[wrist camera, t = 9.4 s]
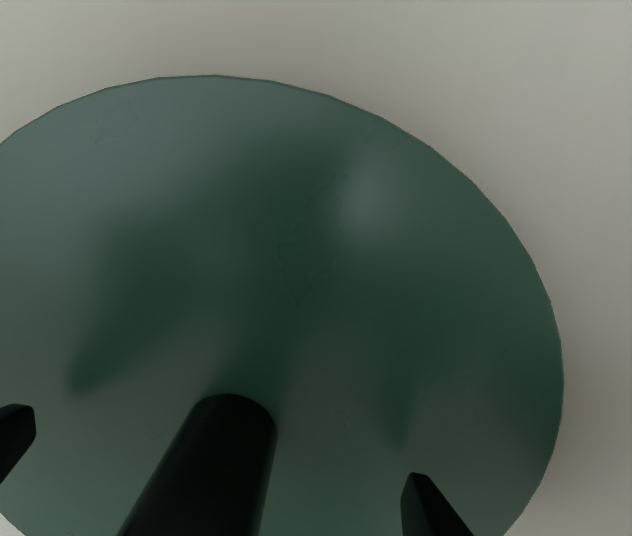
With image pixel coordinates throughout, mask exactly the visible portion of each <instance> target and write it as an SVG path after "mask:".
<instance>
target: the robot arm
mask: <svg viewBox="0 0 632 536" xmlns="http://www.w3.org/2000/svg"><path fill="white" fill-rule="evenodd" d="M36 434H37V430H36V422H35V414H34V409H33V408H32V407H31V406H29V405H23V404H17V403H13V404H9V405H6V406H3V407H1V408H0V484H1V483H2V482H3V481H4V479H5V478H6V477H7V476H8V474H9V473H10V472H11V470H12V469H13V468H14V467H15V465H16V464H17V463H18V462H19V460H20V459H21V458H22V456H23V455H24V454H25V453H26V451H27V450H28V449H29V448H30V446H31V445H32V443H33V442H34V440H35V437H36ZM400 511H401V521H402V532H403V536H474V535H473V533H472V532H471V531H470V529H469V528H468V527H467V526H466V524H465V523H464V522H463V520H462V519H461V518H460V516H459V515H458V514H457V512H456V511H455V510H454V508H453V507H452V506H451V505H450V503H449V502H448V501H447V499H446V498H445V497H444V495H443V494H442V493H441V491H440V490H439V489H438V487H437V486H436V485H435V484H434V482H433V481H432V480H431V478H430V477H429V476H428V475H426V474H421V473H415V472H411V473H410V474H409V475H408V477H407V480H406V483H405V486H404V489H403V492H402V495H401V499H400Z"/></svg>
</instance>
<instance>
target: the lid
mask: <svg viewBox="0 0 632 536" xmlns="http://www.w3.org/2000/svg"><path fill="white" fill-rule="evenodd" d="M563 391H564V372H563V361H562V350H561V340H560V337H559V333H558V329H557V325H556V321H555V317H554V313H553V310H552V306H551V302H550V299H549V297H548V295H547V292H546V290H545V288H544V286H543V283H542V281H541V279H540V277H539V274H538V272H537V270H536V268H535V265H534V263H533V261H532V259H531V257H530V255H529V254H528V252H527V251H526V249H525V248H524V246H523V245H522V243H521V242H520V240H519V239H518V237H517V235H516V234H515V232H514V231H513V229H512V228H511V226H510V225H509V223H508V222H507V220H506V219H505V217H504V216H503V215H502V214H501V213H500V212H499V211H498V210H497V208H496V207H495V206H494V205H493V204H492V203H491V202H490V201H489V200H488V198H487V197H486V196H485V195H484V194H483V193H482V192H481V191H480V190H479V188H478V187H477V186H476V185H475V184H474V183H473V182H472V181H471V180H470V179H469V178H468V177H467V176H465V175H464V174H463V173H462V172H461V171H459V170H458V169H457V168H456V167H454V166H453V165H452V164H451V163H450V162H448V161H447V160H446V159H445V158H444V157H442V156H441V155H440V154H439V153H437V152H436V151H435V150H434V149H433V148H431V147H430V146H429V145H427V144H425V143H424V142H422V141H420V140H419V139H417V138H415V137H414V136H412V135H410V134H409V133H407V132H405V131H404V130H402V129H400V128H399V127H397V126H395V125H394V124H392V123H390V122H389V121H387V120H385V119H384V118H382V117H380V116H377V115H375V114H373V113H370V112H368V111H365V110H363V109H361V108H358V107H356V106H354V105H351V104H349V103H346V102H344V101H342V100H339V99H337V98H334V97H332V96H330V95H326V94H322V93H319V92H315V91H311V90H307V89H303V88H299V87H295V86H291V85H287V84H284V83H280V82H276V81H271V80H261V79H252V78H242V77H233V76H223V75H197V76H175V77H158V78H153V79H148V80H143V81H138V82H133V83H128V84H123V85H118V86H113V87H109V88H105V89H102V90H100V91H97V92H94V93H92V94H89V95H86V96H84V97H81V98H79V99H76V100H73V101H71V102H68V103H65V104H63V105H60V106H57V107H56V108H54V109H52V110H50V111H49V112H47V113H45V114H44V115H42V116H40V117H39V118H37V119H35V120H33V121H32V122H30V123H28V124H27V125H25V126H23V127H22V128H20V129H18V130H16V131H15V132H14V133H13V134H11V135H10V136H9V137H8V138H7V139H6V140H4V141H3V142H2V143H1V144H0V408H1V407H3V406H6V405H9V404H13V403H17V404H23V405H29V406H31V407H32V408H33V409H34V414H35V422H36V430H37V434H36V437H35V440H34V442H33V443H32V445H31V446H30V448H29V449H28V450H27V451H26V453H25V454H24V455H23V456H22V458H21V459H20V460H19V462H18V463H17V464H16V465H15V467H14V468H13V469H12V470H11V472H10V473H9V474H8V476H7V477H6V478H5V479H4V481H3V482H2V483H1V484H0V513H1V514H2V515H3V516H4V517H5V518H6V519H7V520H8V521H9V522H10V523H11V524H12V525H14V526H15V527H16V528H17V529H18V530H19V531H21V532H22V533H23V534H24V535H25V536H403V532H402V521H401V511H400V499H401V495H402V492H403V489H404V486H405V483H406V480H407V477H408V475H409V474H410V473H411V472H415V473H421V474H426V475H428V476H429V477H430V478H431V480H432V481H433V482H434V484H435V485H436V486H437V487H438V489H439V490H440V491H441V493H442V494H443V495H444V497H445V498H446V499H447V501H448V502H449V503H450V505H451V506H452V507H453V508H454V510H455V511H456V512H457V514H458V515H459V516H460V518H461V519H462V520H463V522H464V523H465V524H466V526H467V527H468V528H469V529H470V531H471V532H472V533H473V535H474V536H503V535H504V534H505V533H506V532H507V531H508V529H509V528H510V527H511V526H512V525H513V523H514V522H515V521H516V520H517V519H518V517H519V516H520V515H521V514H522V512H523V511H524V509H525V507H526V506H527V504H528V503H529V501H530V499H531V498H532V496H533V494H534V493H535V491H536V489H537V488H538V486H539V485H540V482H541V480H542V477H543V475H544V473H545V470H546V468H547V466H548V463H549V461H550V458H551V456H552V454H553V450H554V446H555V442H556V438H557V434H558V430H559V426H560V422H561V416H562V404H563Z"/></svg>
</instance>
